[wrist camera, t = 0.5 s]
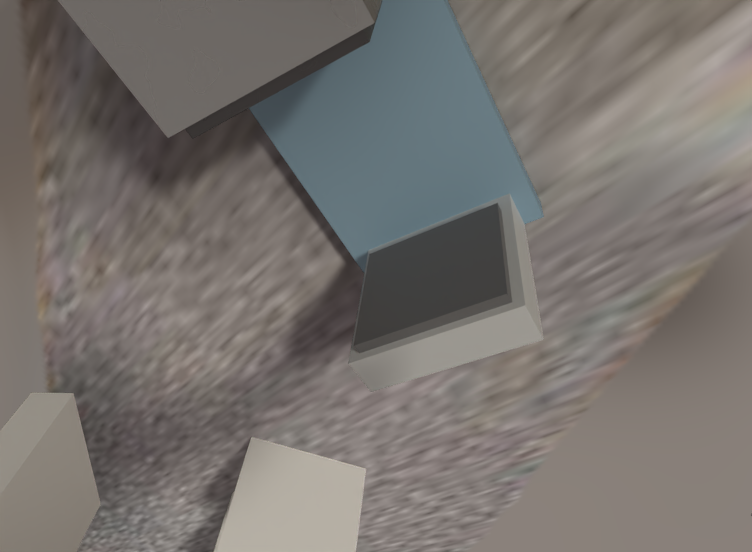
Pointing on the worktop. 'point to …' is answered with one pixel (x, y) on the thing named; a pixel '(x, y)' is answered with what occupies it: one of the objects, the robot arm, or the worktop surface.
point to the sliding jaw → (218, 50)
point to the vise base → (416, 194)
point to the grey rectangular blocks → (292, 503)
